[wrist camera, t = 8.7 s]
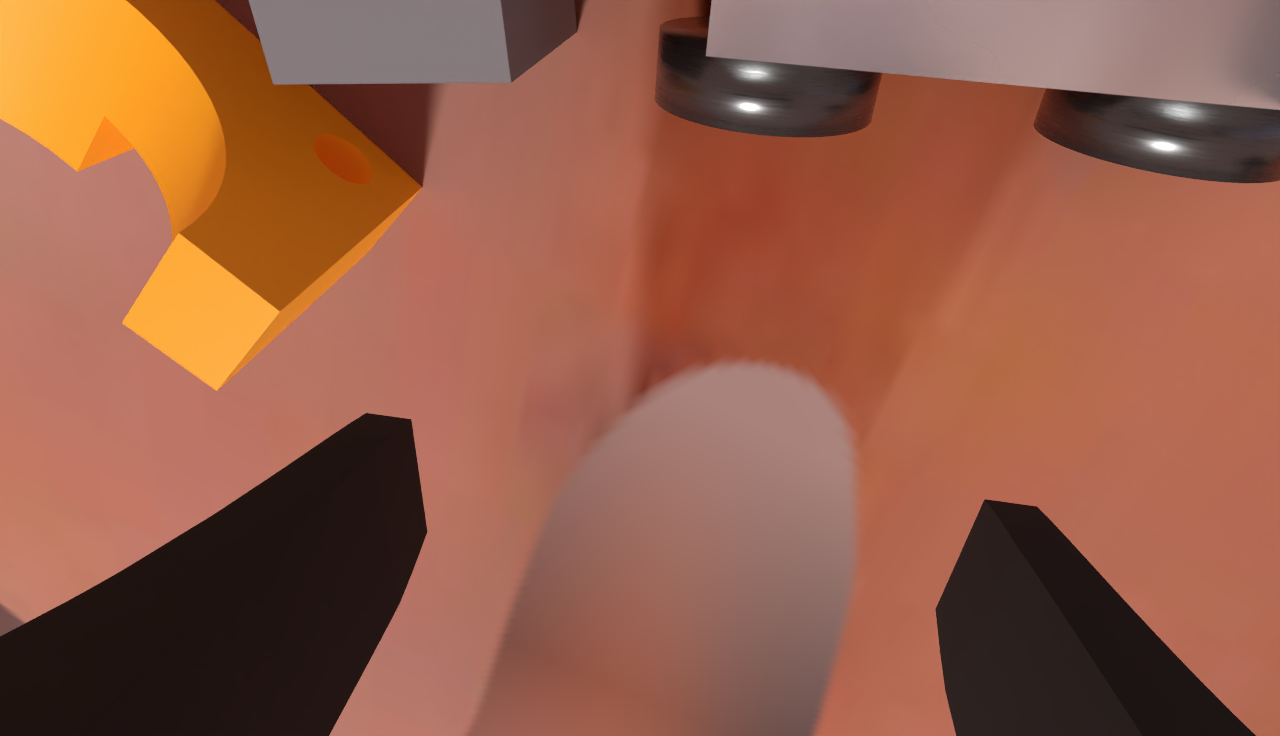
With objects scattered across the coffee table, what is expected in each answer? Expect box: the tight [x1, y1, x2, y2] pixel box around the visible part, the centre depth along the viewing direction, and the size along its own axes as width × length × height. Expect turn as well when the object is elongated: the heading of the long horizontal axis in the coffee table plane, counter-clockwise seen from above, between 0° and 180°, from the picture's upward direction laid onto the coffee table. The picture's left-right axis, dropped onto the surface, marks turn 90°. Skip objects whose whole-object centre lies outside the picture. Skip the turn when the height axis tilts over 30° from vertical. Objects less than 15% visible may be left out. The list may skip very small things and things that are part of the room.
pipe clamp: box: [0, 0, 422, 391], centre depth 14 cm, size 12×4×6 cm, turn 46°
